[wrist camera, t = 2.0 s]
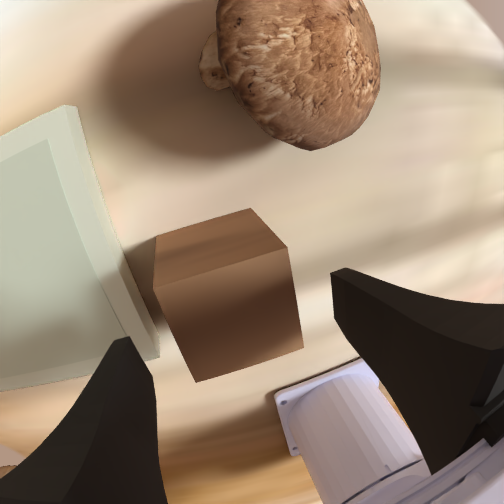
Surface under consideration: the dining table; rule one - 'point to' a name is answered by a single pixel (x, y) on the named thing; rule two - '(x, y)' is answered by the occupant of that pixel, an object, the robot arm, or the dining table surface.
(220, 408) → the dining table surface
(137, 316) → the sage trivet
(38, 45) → the dining table surface
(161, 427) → the dining table surface
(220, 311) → the walnut block
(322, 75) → the mushroom
